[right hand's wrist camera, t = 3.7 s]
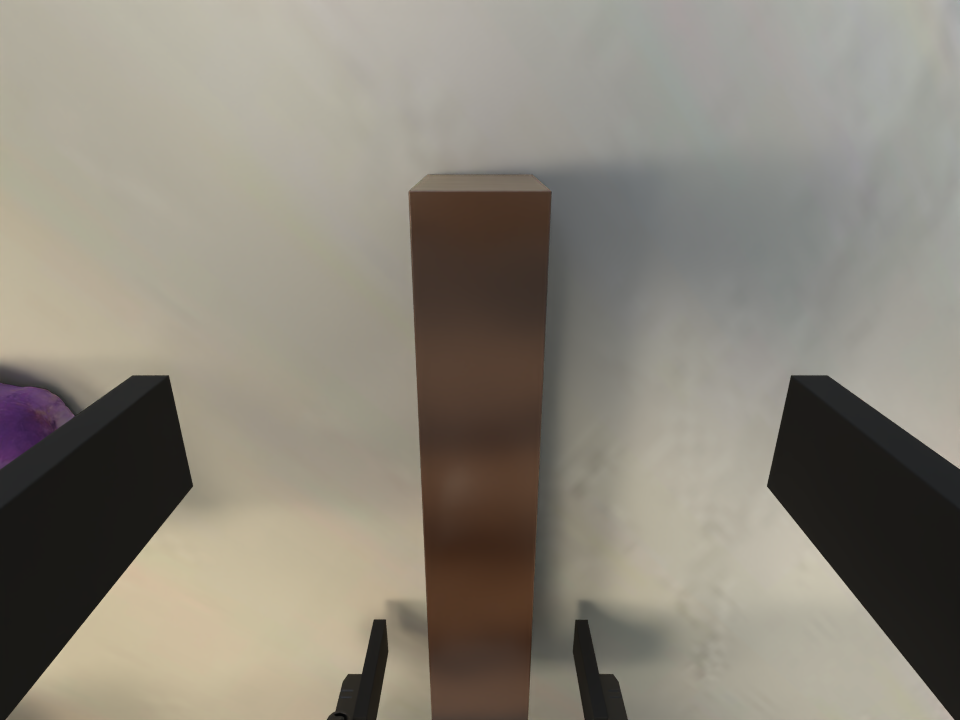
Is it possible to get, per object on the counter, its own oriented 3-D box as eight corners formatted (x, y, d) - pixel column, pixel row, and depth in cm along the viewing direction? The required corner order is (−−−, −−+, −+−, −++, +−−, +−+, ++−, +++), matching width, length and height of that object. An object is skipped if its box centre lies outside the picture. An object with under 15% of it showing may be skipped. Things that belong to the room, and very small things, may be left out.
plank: (517, 655, 40) (525, 774, 33) (442, 655, 40) (434, 774, 33) (532, 174, 28) (551, 190, 21) (427, 174, 28) (407, 190, 21)
